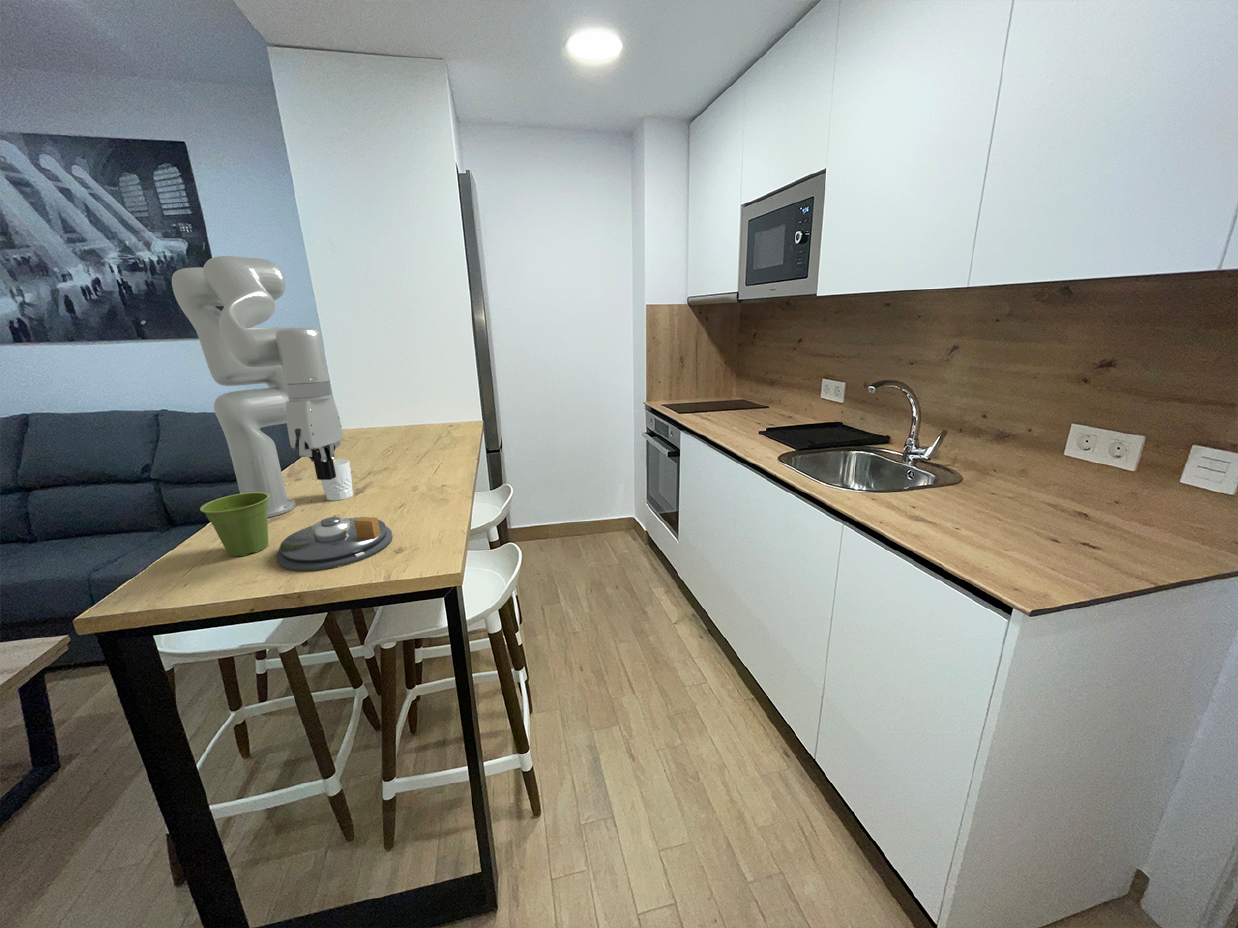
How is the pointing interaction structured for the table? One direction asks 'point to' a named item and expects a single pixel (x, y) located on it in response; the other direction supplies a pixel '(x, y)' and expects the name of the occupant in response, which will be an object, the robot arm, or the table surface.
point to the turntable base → (338, 562)
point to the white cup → (339, 482)
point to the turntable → (309, 551)
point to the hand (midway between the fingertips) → (326, 478)
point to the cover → (331, 529)
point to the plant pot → (240, 521)
